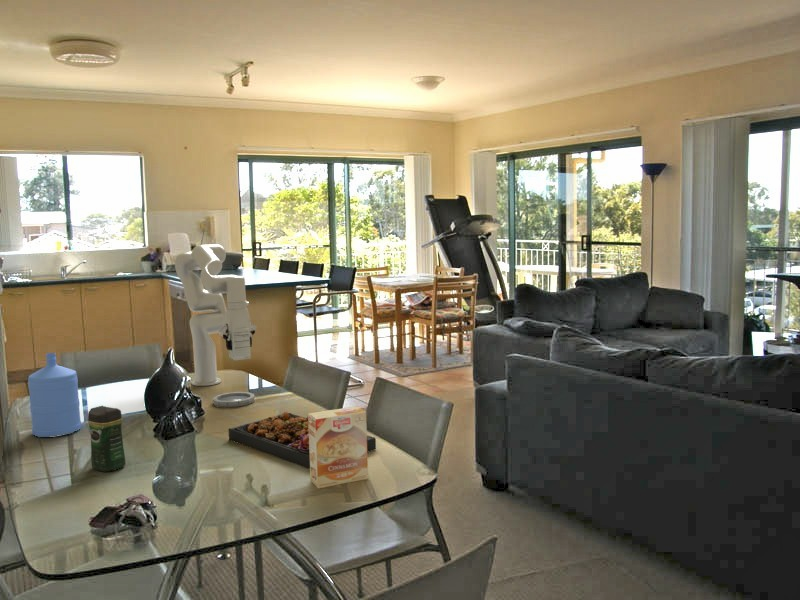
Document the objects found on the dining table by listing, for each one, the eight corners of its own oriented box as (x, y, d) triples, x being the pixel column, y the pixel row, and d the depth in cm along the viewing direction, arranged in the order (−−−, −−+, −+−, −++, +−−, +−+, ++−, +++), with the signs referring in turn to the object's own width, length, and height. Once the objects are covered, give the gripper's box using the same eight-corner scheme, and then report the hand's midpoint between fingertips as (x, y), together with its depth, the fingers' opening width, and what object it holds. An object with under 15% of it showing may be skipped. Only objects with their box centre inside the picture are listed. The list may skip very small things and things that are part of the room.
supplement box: (228, 357, 293) (227, 327, 292) (246, 355, 296) (244, 325, 295) (233, 360, 286) (231, 329, 285) (251, 358, 290) (249, 328, 288)
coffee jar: (130, 466, 213) (126, 406, 211) (107, 474, 207) (102, 412, 204) (110, 460, 218) (106, 402, 216) (87, 468, 212) (82, 408, 210)
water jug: (89, 430, 251) (82, 352, 247) (42, 441, 239) (35, 360, 236) (70, 422, 261) (64, 348, 258) (25, 432, 250) (18, 355, 247)
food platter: (375, 451, 223) (374, 419, 222) (315, 472, 205) (313, 438, 204) (288, 424, 254) (287, 396, 253) (229, 441, 236) (227, 411, 235)
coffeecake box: (318, 489, 191) (315, 419, 189) (309, 480, 198) (306, 412, 195) (369, 479, 198) (366, 411, 195) (359, 471, 204) (357, 405, 202)
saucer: (206, 402, 286) (206, 397, 285) (242, 395, 296) (242, 389, 296) (225, 409, 274) (224, 404, 273) (261, 402, 284) (261, 396, 284)
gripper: (250, 303, 297) (253, 344, 299) (213, 307, 286) (215, 350, 288) (260, 304, 292) (262, 346, 294) (222, 309, 280) (224, 352, 282)
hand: (239, 348), depth 291 cm, fingers closed on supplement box, 8 cm apart
